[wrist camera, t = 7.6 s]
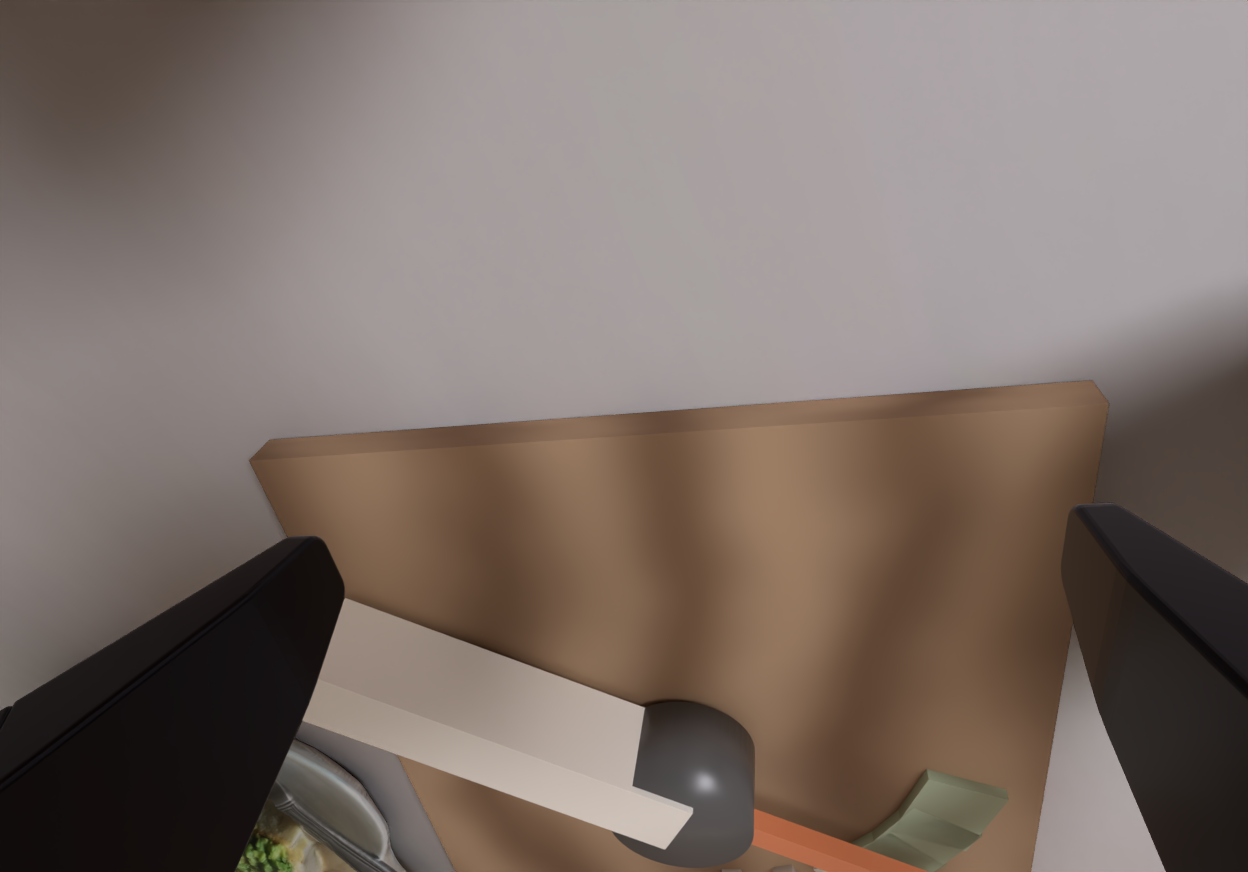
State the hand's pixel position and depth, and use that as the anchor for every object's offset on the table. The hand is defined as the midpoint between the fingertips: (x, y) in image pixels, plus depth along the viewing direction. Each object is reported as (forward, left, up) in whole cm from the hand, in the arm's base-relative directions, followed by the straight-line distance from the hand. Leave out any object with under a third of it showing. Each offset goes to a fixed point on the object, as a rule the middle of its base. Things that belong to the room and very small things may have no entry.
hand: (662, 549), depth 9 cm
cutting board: (+3, +18, -12) cm, 22 cm away
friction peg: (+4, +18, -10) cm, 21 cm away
